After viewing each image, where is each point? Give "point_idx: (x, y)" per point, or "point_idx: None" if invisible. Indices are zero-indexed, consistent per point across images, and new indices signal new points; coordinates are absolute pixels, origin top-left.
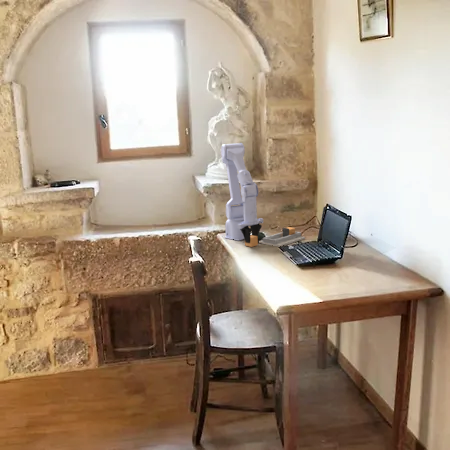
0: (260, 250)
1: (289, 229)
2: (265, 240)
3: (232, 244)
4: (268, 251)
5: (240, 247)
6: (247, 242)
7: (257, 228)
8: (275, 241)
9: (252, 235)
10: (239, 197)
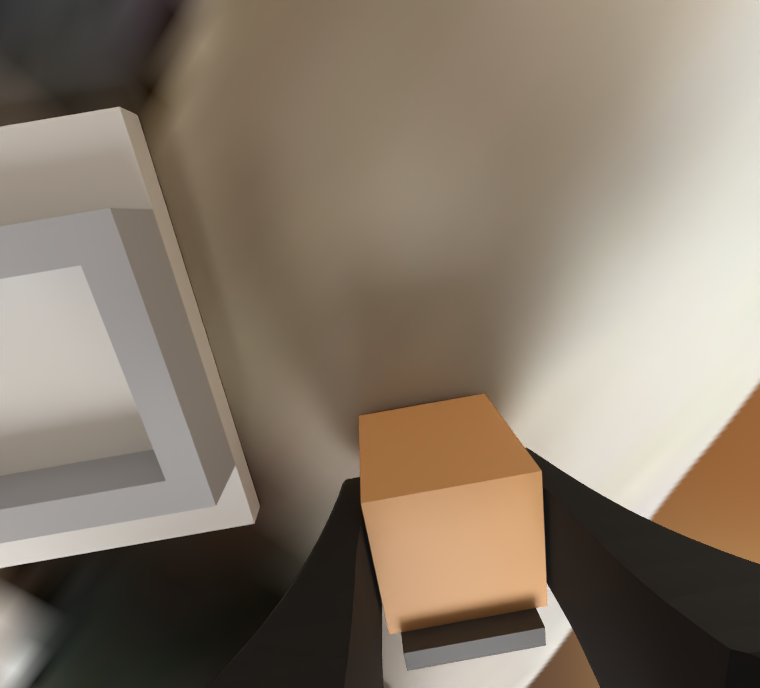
0: (503, 175)
1: None
2: (207, 432)
3: None
4: (459, 10)
5: None
6: None
7: (353, 685)
8: (116, 209)
9: (394, 595)
10: None
